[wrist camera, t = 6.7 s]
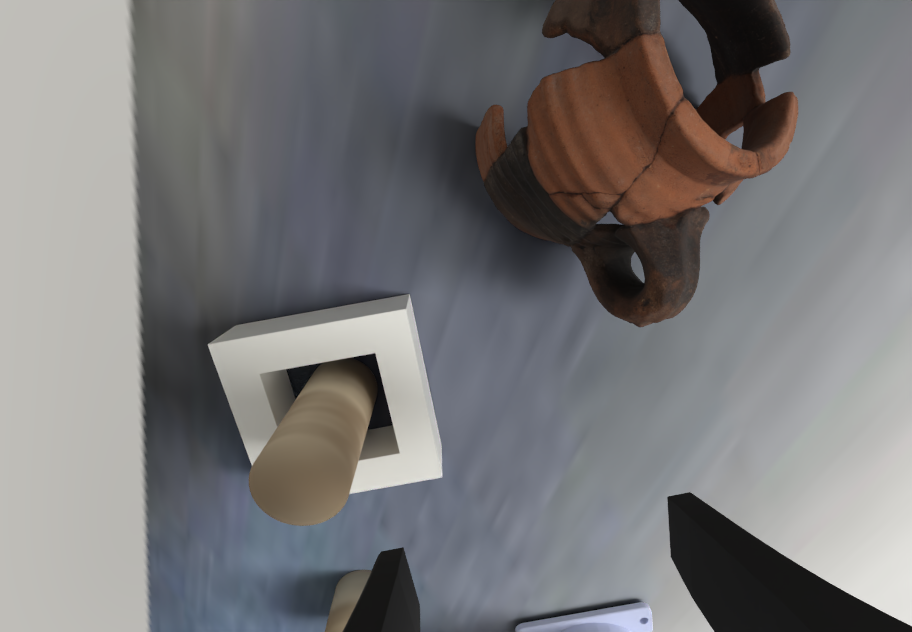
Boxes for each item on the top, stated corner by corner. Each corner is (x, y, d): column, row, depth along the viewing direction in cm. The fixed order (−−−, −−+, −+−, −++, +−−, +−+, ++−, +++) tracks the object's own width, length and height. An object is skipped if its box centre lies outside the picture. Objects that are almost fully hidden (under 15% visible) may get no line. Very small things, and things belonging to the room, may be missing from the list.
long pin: (385, 410, 21) (361, 514, 14) (321, 424, 21) (268, 534, 14) (367, 350, 20) (333, 432, 13) (301, 365, 20) (233, 453, 13)
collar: (441, 445, 22) (442, 477, 19) (285, 472, 22) (267, 508, 19) (409, 293, 19) (405, 308, 17) (235, 325, 19) (207, 344, 17)
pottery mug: (434, 64, 17) (573, -153, 10) (603, 69, 21) (791, -81, 14) (504, 352, 18) (688, 352, 10) (656, 303, 22) (866, 278, 14)
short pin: (397, 608, 25) (390, 685, 21) (343, 618, 25) (326, 696, 21) (385, 565, 24) (376, 637, 20) (328, 575, 24) (308, 649, 20)
